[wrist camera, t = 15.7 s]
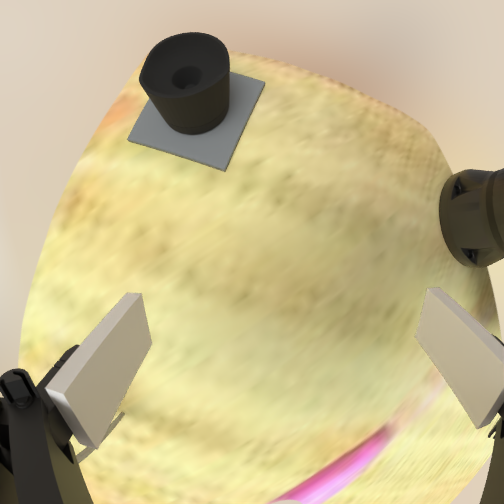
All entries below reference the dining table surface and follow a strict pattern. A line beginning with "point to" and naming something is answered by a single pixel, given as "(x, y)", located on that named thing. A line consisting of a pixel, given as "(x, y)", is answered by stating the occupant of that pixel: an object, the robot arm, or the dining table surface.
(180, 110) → the pen holder
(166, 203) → the dining table surface
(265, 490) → the dining table surface
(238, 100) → the coaster mat
